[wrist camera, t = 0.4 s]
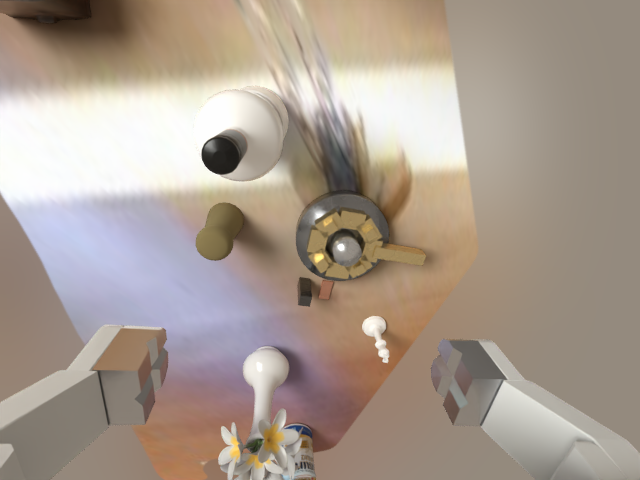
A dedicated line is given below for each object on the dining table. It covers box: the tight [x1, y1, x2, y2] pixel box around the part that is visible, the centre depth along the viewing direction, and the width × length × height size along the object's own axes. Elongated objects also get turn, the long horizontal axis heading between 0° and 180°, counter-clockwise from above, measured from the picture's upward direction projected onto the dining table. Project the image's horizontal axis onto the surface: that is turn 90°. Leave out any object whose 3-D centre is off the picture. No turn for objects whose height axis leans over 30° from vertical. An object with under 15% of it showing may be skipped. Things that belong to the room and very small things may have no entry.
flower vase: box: [218, 346, 303, 480], centre depth 58 cm, size 13×18×25 cm
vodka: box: [194, 86, 289, 181], centre depth 36 cm, size 9×9×30 cm
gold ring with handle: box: [306, 206, 426, 279], centre depth 55 cm, size 20×12×3 cm, turn 78°
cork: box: [196, 203, 244, 261], centre depth 50 cm, size 6×6×11 cm
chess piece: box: [362, 316, 389, 363], centre depth 63 cm, size 5×5×10 cm
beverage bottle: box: [281, 423, 316, 480], centre depth 71 cm, size 8×8×20 cm
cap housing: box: [296, 190, 389, 307], centre depth 56 cm, size 22×16×8 cm
